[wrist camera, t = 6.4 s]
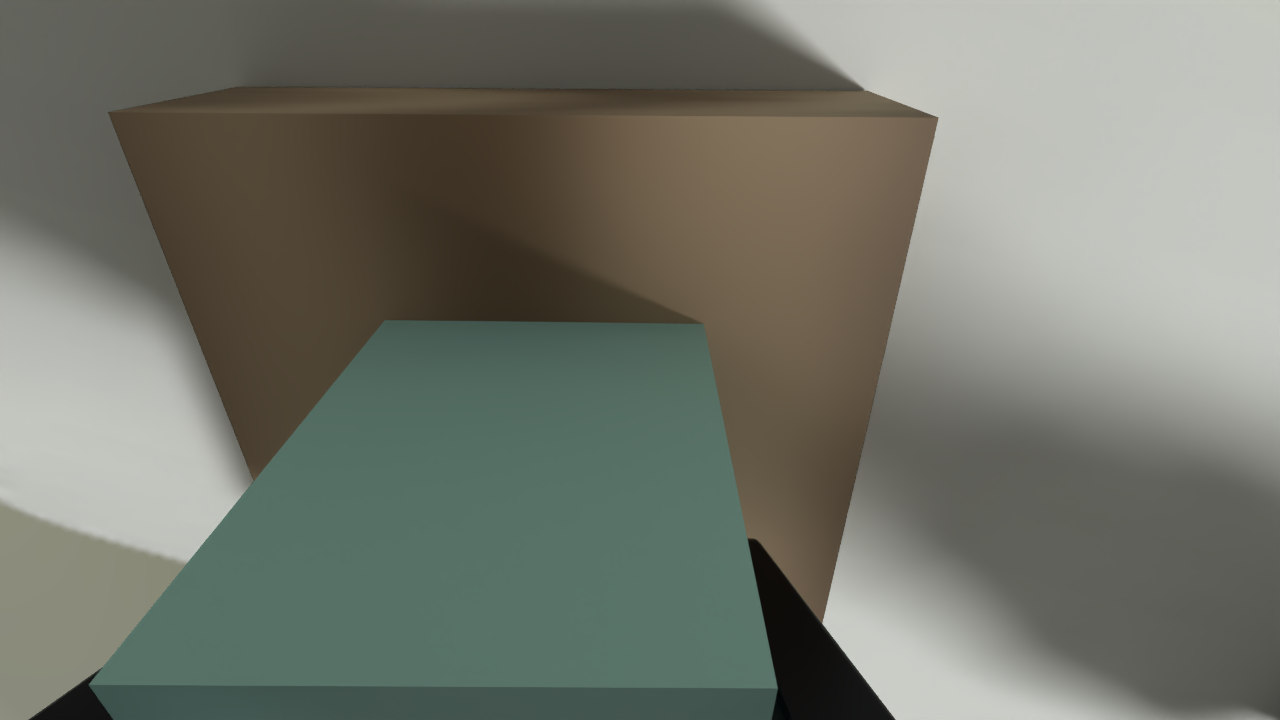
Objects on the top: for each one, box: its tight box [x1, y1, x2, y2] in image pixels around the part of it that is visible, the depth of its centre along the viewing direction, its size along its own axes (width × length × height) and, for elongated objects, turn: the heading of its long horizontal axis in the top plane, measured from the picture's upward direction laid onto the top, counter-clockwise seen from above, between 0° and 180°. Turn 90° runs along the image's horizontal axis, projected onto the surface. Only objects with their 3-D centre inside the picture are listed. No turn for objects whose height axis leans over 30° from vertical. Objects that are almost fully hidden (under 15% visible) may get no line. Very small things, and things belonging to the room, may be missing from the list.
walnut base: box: [108, 87, 938, 623], centre depth 12 cm, size 11×11×3 cm
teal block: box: [89, 320, 778, 720], centre depth 8 cm, size 5×5×6 cm
